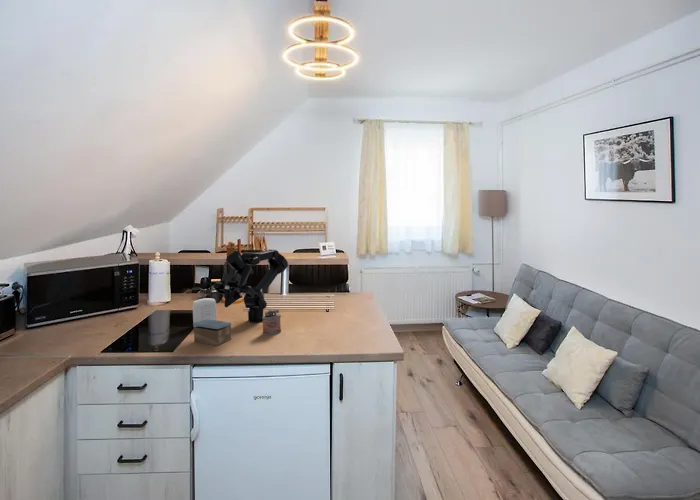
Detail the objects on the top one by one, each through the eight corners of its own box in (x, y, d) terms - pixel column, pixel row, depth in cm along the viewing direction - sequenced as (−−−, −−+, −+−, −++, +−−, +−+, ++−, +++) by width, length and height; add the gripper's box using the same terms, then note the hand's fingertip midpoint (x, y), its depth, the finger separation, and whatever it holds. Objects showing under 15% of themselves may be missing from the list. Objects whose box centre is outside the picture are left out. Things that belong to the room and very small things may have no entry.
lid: (207, 321, 178) (207, 319, 178) (231, 324, 174) (231, 322, 173) (192, 325, 171) (193, 323, 171) (217, 329, 166) (217, 326, 166)
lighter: (263, 335, 179) (263, 312, 178) (261, 333, 182) (261, 310, 181) (282, 332, 183) (281, 309, 182) (279, 330, 186) (279, 308, 185)
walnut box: (208, 335, 179) (207, 322, 178) (231, 339, 174) (230, 325, 174) (194, 341, 172) (193, 327, 171) (217, 345, 167) (217, 331, 166)
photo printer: (215, 321, 198) (214, 296, 197) (217, 324, 195) (216, 298, 193) (192, 325, 193) (191, 299, 191) (194, 328, 189) (193, 301, 188)
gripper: (214, 264, 185) (198, 294, 177) (250, 267, 178) (234, 299, 170) (227, 278, 194) (211, 308, 185) (261, 282, 187) (247, 313, 178)
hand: (225, 306), depth 179 cm, fingers closed
